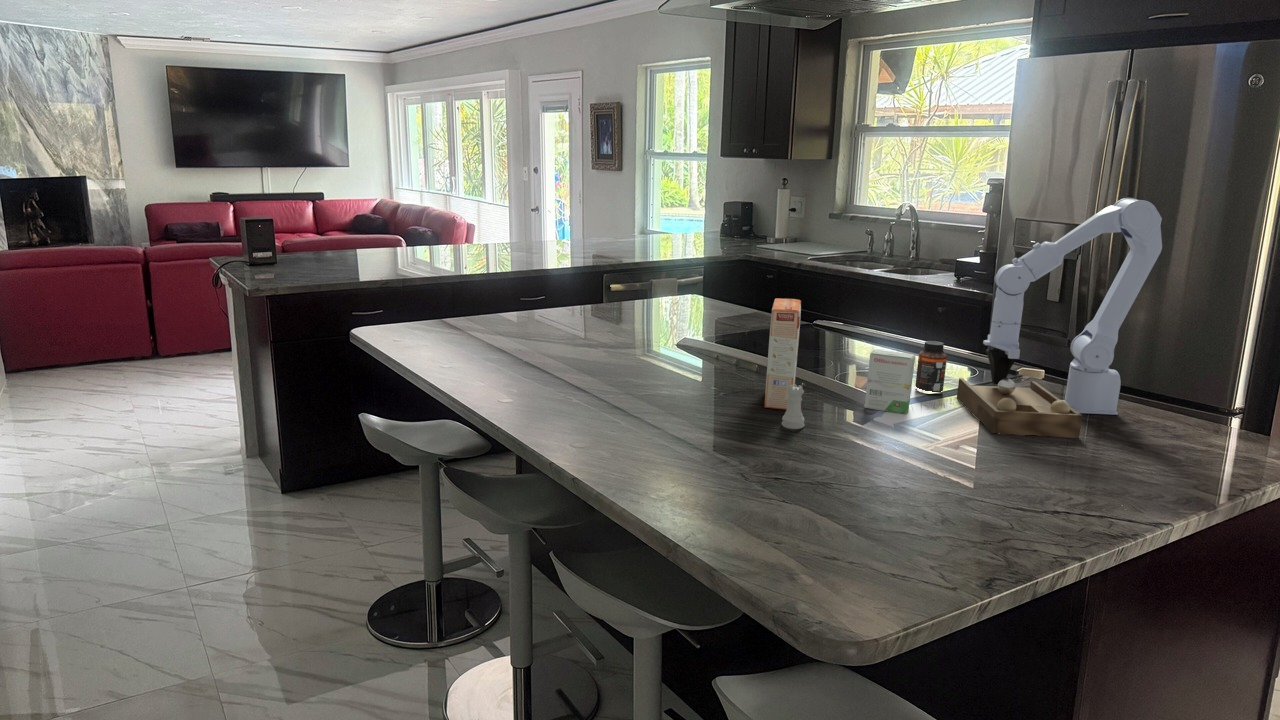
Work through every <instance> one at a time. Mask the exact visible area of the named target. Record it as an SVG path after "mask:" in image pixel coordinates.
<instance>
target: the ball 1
mask: <svg viewBox="0 0 1280 720" xmlns="http://www.w3.org/2000/svg"><path fill="white" fill-rule="evenodd" d="M997 409H998V410H1000V411H1015V410H1016V403H1015V402H1014V400H1012V399H1010V398H1003V399H1001V400H1000V401H999V402H998V404H997Z"/></svg>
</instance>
